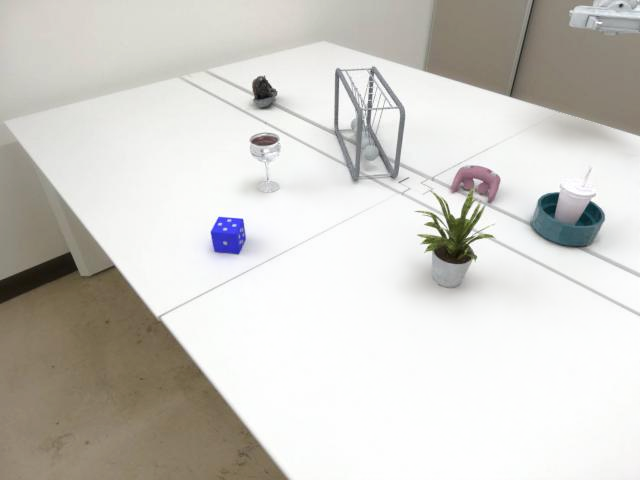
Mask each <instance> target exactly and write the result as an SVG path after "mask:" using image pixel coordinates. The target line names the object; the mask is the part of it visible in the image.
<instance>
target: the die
mask: <svg viewBox="0 0 640 480" xmlns="http://www.w3.org/2000/svg"><path fill="white" fill-rule="evenodd" d="M244 221H245V220H244V218H239V217H229V216H218V217H217V219H216V221H215V223H214V224H213V226H212V228H211V230H210V237H211V241H212V247H213V251H214V253H224V254H234V255H240V254H241V251H242V249H243V246H244V244H245V242H246V239H247V235H246V228H245V222H244Z"/></svg>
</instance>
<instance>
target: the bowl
mask: <svg viewBox="0 0 640 480" xmlns="http://www.w3.org/2000/svg"><path fill="white" fill-rule="evenodd" d="M559 194H560V191H556V192H555V191H554V192H547V193H545V194H543V195H541V196H540V197H539V198H538V199H537V202H536V204H535V207H534V210H533V213H532V216H531V219H530V222H531V226H532V227H533V229H534V230H535V231H536V232H537V233H538V234H539V235H540V236H542V237H544V238H545V239H546V240H549V241H552V242H553V243H557V244H560V245H564V246H570V247H571V246H573V247H580V246H587V245H590V244H591V243H594V241H595V240H596V239H597V237H598V236H599V233H600V231H601V228H602V226H603V225H604V223H605V221H606V214H605V212H604V210H603V209H602V207H600V205H598V204H597V203H595V202H594V201H592V200H590V202H589V204H588V205H587V207H586V208H585V210H584V211H583V213H582V215H581V216H580V218H579V219H578V221H577V223H576V224H575V226H574V225H570V224H566V223H563V222H560V221H558V220H555V219H554V216H555V212H556V207H557V203H558V199H559Z"/></svg>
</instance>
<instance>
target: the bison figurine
mask: <svg viewBox="0 0 640 480" xmlns="http://www.w3.org/2000/svg"><path fill="white" fill-rule="evenodd" d="M251 89H252V93H253V96H254V98H253V100H252V101H253V103H254V104H255V105H256V106H257V107H259V108H265V107H268V106H270V105H271V104H272V103H273V102H274V101H275V100H274V99H275V98H276V97H277V96H278V90H277V89H276V88H273V86H272V85H271V83H270V82H269V80H268V79H267V78H266V75H259V76H257V77H256V78H253V80H252V82H251Z"/></svg>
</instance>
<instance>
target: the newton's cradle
mask: <svg viewBox="0 0 640 480" xmlns="http://www.w3.org/2000/svg"><path fill="white" fill-rule="evenodd" d="M352 71H353V72H354V71H366V72H367V73H368V80H367V81H366V83H367V85H366V86H365V87H363V89H365V93H364V97H362V93H360V91H359V90H358V89H359V88H358V87H356V85H355V84H356V81H353V79H352V76H350V74H349V72H352ZM343 72H345V73H346V75H347V77H348V79H349V81H350V83H351V85H352V86H351V87H350V85H349V82H348V81H347V78H346V76H345V75H344V73H343ZM375 76H376V78H377V79H378V81H379V82H380V83H381V85H382V86H383V88H384V90H385V91H386V93H387V94H388V95H389V97H390V99H391V100H392V101H393V103H394V104H395V105H396V106H393V105H392V103H391V102H390V100H389V98H388V97H387V95H386V94H385V93H384V91H383V89H382V88H381V86H380V85H379V83H378V82H377V81H376V79H375ZM359 77H360V78H363V77H364V75H358V76H355V78H359ZM340 81H341V84H342V85H343V88H344V90H345V91H346V93H347V96H348V97H349V100H350V101H351V103H352V105H353V107H354V112H356V113H355V118H353V119H352V121H351V122H350V128H347V129H346V128H345V129H339V104H340ZM374 83H375V85H376V87H375V92H373V91H374ZM377 90H379V92H380V93H379V94H380V95H379V98H378V99H377V101H378V102H377V106H376V107H374V103H375V100H376V94H377ZM367 91H368V93H367ZM366 95H367V96H368V97H367V99H365V98H366ZM373 95H374V97H373ZM381 96H383V98H382V99H381ZM382 100H383V101H384V102H383V105H382V107H379V103H380V101H382ZM366 101H367V104H366V103H365V102H366ZM359 102H360V103H359ZM386 102H387V103H388V105H389V106H386V107H385V103H386ZM360 104H361V105H360ZM333 106H334V107H333V108H334V109H333V110H334V115H333V121H334V122H333V124H334V125H333V127H334V131H335V135H336V137H337V139H338V143H339V146H340V148H341V150H342V153H343V156H344V158H345V161H346V163H347V166H348V169H349V172H350V173H351V177H352V179H353V180H354V181H358V180H359V178H360V179H361V178H372V177H386V176H392V178H395V179H396V178H397V177H398V175H399V171H400V163H401V156H402V147H403V137H404V131H405V124H406V123H405V122H406V109H405V106H404V104H403V103H402V102H401V101H400V99H399V98H398V96H397V95H396V94H395V92H394V90H393V89H392V87H390V85H389V83H388V82H387V81H386V79H385V78H384V77H383V75H382V74H381V73H380V71H379V70H378V68H377V67H376V66H375V65H373V66H371V67H367V68H365V67H364V68H347V69H345V68H344V69H341V68H340V67H336V69H335V72H334V105H333ZM395 109H397V110H399V111H398V112H399V121H398V130H397V140H396V148H395V155H394V156H395V157H394V165H392V164H391V161H390V159H389V158H388V156H387V154H386V152H385V150H384V148H383V147H382V145H381V143H380V140H379V139H378V137H377V133H378V129H379V127H380V122H381V118H382V114H383V111H384V110H395ZM380 110H381V113H380V116H379V120H378V124H377V127H376V132H375V131H374V130H373V126H374V121H375V118H376V114H377V111H380ZM372 111H375V113H374V116H373V121H372ZM364 112H365V113H364ZM365 120H366V124H365ZM371 121H372V122H371ZM348 131H350V132H351V131H353V134H354V136H355V137H356V140H355V141H356V142H355V144H356V145H355V158H354V159H355V161H354V165H353V162H352V159H351V157H350V153H349V152H348V149H347V146H346V144H345V141H344V139H343V135H342V134H341V132H348ZM362 152H363V153H362ZM362 154H363V157H364V158H365V160H367V161H370V162H371V161H375V160H376V159H378V158H379V155H380V156H381V158H382V160H383V162H384V164H385V166H386V168H387V169H388V170H387V171H388V172H389V173H381V174H380V173H379V174H365V175H360V173H361V172H360V171H361V155H362ZM393 166H394V167H393Z"/></svg>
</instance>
